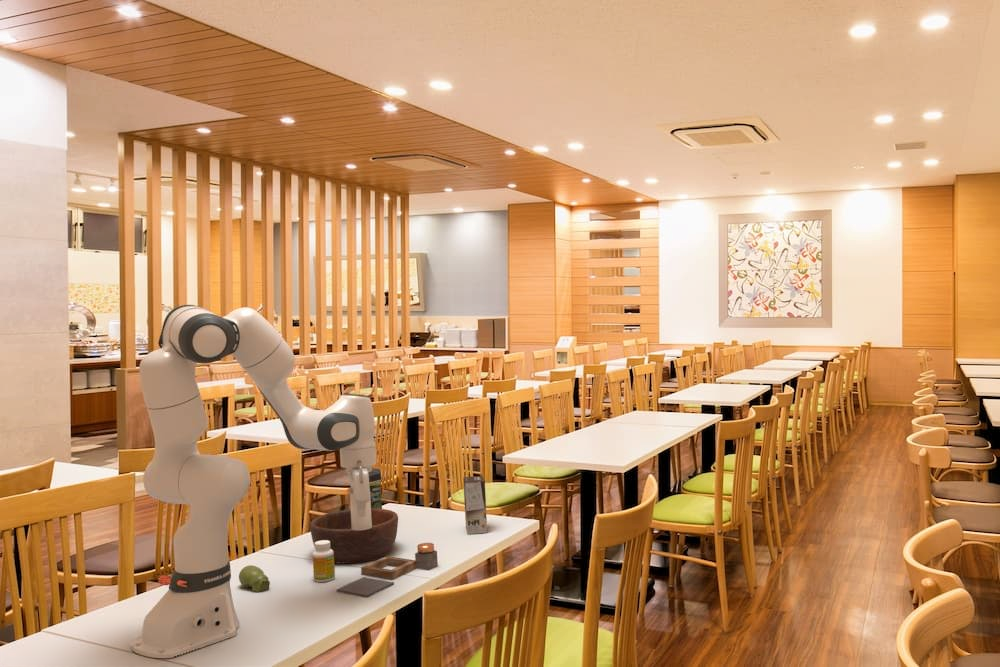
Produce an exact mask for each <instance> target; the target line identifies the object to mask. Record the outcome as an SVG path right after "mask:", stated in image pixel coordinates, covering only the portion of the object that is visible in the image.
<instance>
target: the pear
mask: <svg viewBox="0 0 1000 667" xmlns="http://www.w3.org/2000/svg"><path fill="white" fill-rule="evenodd" d="M238 580H239V583H240V584H241V586H243V587H246V588H250V587H251V589H252V591H253V592H255V593H260V592H265V591H268V590H270V580H269V577H268V576H267V575H266V574H265V573H264V571H263V570H262V569H261V568H260V567H259V566H257V565H247V566H244V567H243V568H242V569H240V571H239V574H238Z"/></svg>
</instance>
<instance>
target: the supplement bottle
mask: <svg viewBox="0 0 1000 667" xmlns="http://www.w3.org/2000/svg"><path fill="white" fill-rule="evenodd" d="M314 549H315V550H313V552H312V568H313V569H312V570H313V571H312V572H313V580H314V582H317V583H325V582H330V581H333V580H334V579H335V577H336V572H335V570H336V569H335V563H334V552H333V550H332V549H330V541H328V540H321V541H317V542H315V547H314Z"/></svg>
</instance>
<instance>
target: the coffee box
mask: <svg viewBox="0 0 1000 667" xmlns="http://www.w3.org/2000/svg"><path fill="white" fill-rule="evenodd" d="M462 479H463V481H462V482H463V495H464V496H463V498H464V501H463V502H464V514H465V516H464V518H465V529H466V534H467V535H477V534H478V535H479V534H486V533H488V521H487V520H488V519H487V499H486V481H485V479H484V476H483V475H477V476H476V475H475V476H465V477H463V478H462Z"/></svg>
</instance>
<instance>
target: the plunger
mask: <svg viewBox="0 0 1000 667" xmlns="http://www.w3.org/2000/svg"><path fill="white" fill-rule="evenodd" d="M416 547H417V552H419V553H423V554H428V553H429V552H433V551H435V544H434V543H432V542H422V543H419V544H417V546H416Z"/></svg>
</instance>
